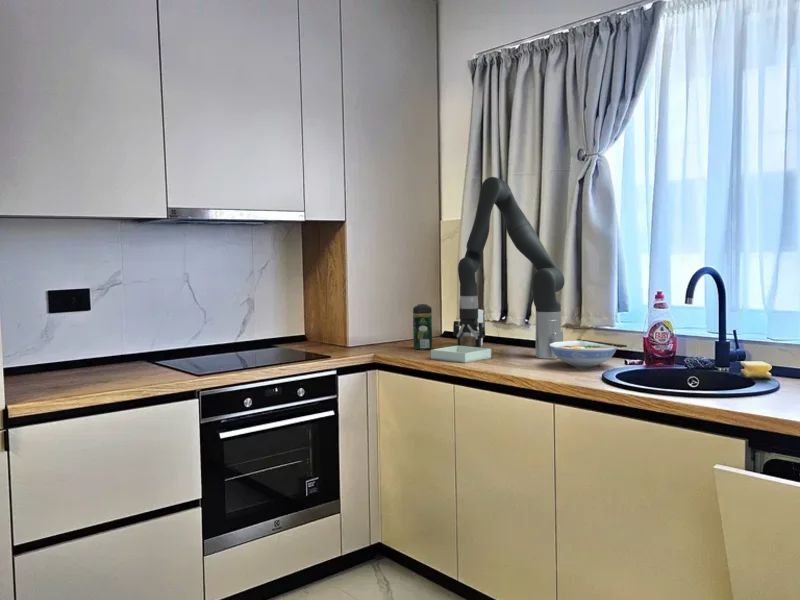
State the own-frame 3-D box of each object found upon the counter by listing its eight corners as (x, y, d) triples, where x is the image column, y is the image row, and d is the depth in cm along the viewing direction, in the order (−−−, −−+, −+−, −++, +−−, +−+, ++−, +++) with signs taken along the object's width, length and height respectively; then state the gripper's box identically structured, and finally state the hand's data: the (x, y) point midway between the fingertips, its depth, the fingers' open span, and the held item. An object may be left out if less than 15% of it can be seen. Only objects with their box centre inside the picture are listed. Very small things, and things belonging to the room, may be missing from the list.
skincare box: (460, 344, 297) (460, 308, 296) (473, 343, 300) (473, 308, 299) (470, 346, 290) (470, 310, 289) (484, 345, 292) (483, 309, 291)
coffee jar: (413, 347, 291) (413, 303, 290) (432, 347, 291) (431, 303, 290) (413, 350, 281) (412, 305, 280) (432, 350, 281) (431, 304, 280)
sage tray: (491, 357, 257) (491, 348, 256) (465, 363, 245) (465, 353, 245) (457, 354, 268) (457, 345, 267) (430, 359, 256) (430, 349, 256)
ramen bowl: (534, 363, 242) (534, 340, 242) (588, 359, 250) (588, 336, 250) (577, 374, 219) (577, 348, 218) (635, 369, 227) (635, 344, 227)
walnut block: (477, 351, 275) (477, 336, 275) (470, 353, 271) (470, 337, 271) (467, 350, 278) (467, 335, 278) (460, 352, 275) (460, 337, 274)
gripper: (488, 307, 272) (489, 348, 273) (460, 306, 281) (460, 345, 282) (477, 308, 266) (477, 350, 267) (448, 307, 276) (449, 347, 277)
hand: (469, 347), depth 275 cm, fingers open, 8 cm apart
